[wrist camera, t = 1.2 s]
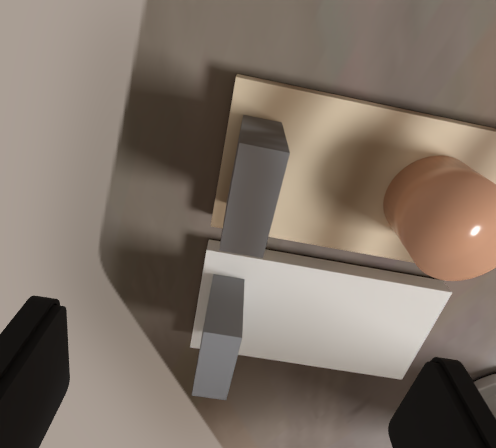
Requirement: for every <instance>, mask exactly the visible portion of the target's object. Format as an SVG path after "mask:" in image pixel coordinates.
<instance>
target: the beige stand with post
mask: <svg viewBox="0 0 496 448" xmlns="http://www.w3.org/2000/svg"><path fill="white" fill-rule="evenodd" d="M430 156H449V157H453V158H456V159H458V160H460V161H462V162H463V163H465V164H466V165H468V166H469V167H471V168H472V169H474V170H475V171H477V172H478V173H480V174H481V175H483V176H484V177H486V178H487V179H489V180H490V181H491V182H493V183H494V184H496V129H495V128H491V127H486V126H481V125H476V124H472V123H467V122H462V121H457V120H453V119H448V118H443V117H439V116H434V115H429V114H424V113H420V112H415V111H410V110H406V109H401V108H396V107H391V106H387V105H382V104H377V103H373V102H368V101H363V100H358V99H354V98H349V97H344V96H339V95H335V94H330V93H325V92H321V91H316V90H311V89H306V88H302V87H297V86H292V85H288V84H283V83H278V82H273V81H269V80H264V79H259V78H255V77H250V76H245V75H240V74H237V75H236V79H235V85H234V91H233V97H232V103H231V109H230V115H229V121H228V126H227V132H226V138H225V144H224V150H223V156H222V162H221V168H220V174H219V180H218V185H217V191H216V197H215V203H214V209H213V215H212V221H211V226H212V227H217V228H223V229H222V235H221V242H220V248H219V251H224V252H230V253H235V254H241V255H247V256H252V257H258V258H263V256H264V252H265V248H266V244H267V240H268V237H273V238H279V239H285V240H290V241H296V242H301V243H307V244H313V245H318V246H324V247H329V248H335V249H340V250H346V251H352V252H357V253H363V254H368V255H374V256H380V257H385V258H391V259H396V260H402V261H408V262H413V263H415V262H414V261H413V259H412V258H411V256H410V255H409V253H408V252H407V250H406V249H405V247H404V245H403V244H402V242H401V241H400V239H399V238H398V236H397V235H396V233H395V232H394V230H393V229H392V227H391V226H390V224H389V223H388V221H387V220H386V217H385V214H384V209H383V201H384V196H385V193H386V190H387V188H388V186H389V184H390V183H391V181H392V180H393V178H394V177H395V176H396V175H397V174H398V173H399V172H400V171H401V170H402V169H404V168H405V167H406V166H408V165H409V164H411V163H413V162H415V161H417V160H420V159H422V158H426V157H430Z"/></svg>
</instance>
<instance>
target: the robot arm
mask: <svg viewBox="0 0 496 448" xmlns="http://www.w3.org/2000/svg"><path fill="white" fill-rule="evenodd" d="M69 380H70V374H69V354H68V334H67V316H66V308H65V307H64V306H60V302H59V300H58V299H52V298H46V297H40V296H31V297H30V298H29V299H28V300H27V301H26V303H25V304H24V305H23V307H22V308H21V309H20V310H19V311H18V313H17V314H16V315H15V316H14V318H13V319H12V320H11V321H10V323H9V324H8V325H7V326H6V328H5V329H4V330H3V332H2V333H1V334H0V448H39V446H40V444H41V442H42V440H43V438H44V436H45V434H46V432H47V430H48V428H49V426H50V424H51V422H52V420H53V418H54V416H55V414H56V412H57V410H58V408H59V406H60V404H61V402H62V400H63V398H64V396H65V394H66V391H67V389H68V385H69ZM388 432H389V437H390V440H391V443H392V447H393V448H496V374H492V375H490V376H487V377H484V378H481V379H479V380H477V381H475V382H473V381H472V379H471V377H470V376H469V374H468V372H467V371H466V369H465V368H464V366H463V365H462V363H461V362H459V361H458V360H452V359H445V358H439V357H435V358H433V359H432V360H431V361H430V362H427V363H426V364H425V365H424V367H423V368H422V370H421V371H420V373H419V375H418V376H417V378H416V380H415V381H414V383H413V385H412V386H411V388H410V389H409V391H408V393H407V394H406V396H405V398H404V399H403V401H402V402H401V404H400V406H399V407H398V409H397V411H396V412H395V414H394V416H393V417H392V419H391V420H390V423H389V427H388Z"/></svg>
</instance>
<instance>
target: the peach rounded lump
mask: <svg viewBox="0 0 496 448" xmlns="http://www.w3.org/2000/svg"><path fill="white" fill-rule="evenodd" d="M383 209H384V214H385V217H386V220H387V221H388V223H389V224H390V226H391V227H392V229H393V230H394V232H395V233H396V235H397V236H398V238H399V239H400V241H401V242H402V244H403V245H404V247H405V249H406V250H407V252H408V253H409V255H410V256H411V258H412V259H413V261H414V262H415V263H416V265H417V266H418V267H419V269H420V270H421V271H423V272H424V273H425V274H427V275H429V276H431V277H433V278H436V279H440V280H446V281H460V280H466V279H471V278H474V277H477V276H480V275H483V274H485V273H487V272H489V271H491V270H492V269H494V268H495V267H496V184H494V183H493V182H491V181H490V180H489V179H487V178H486V177H484V176H483V175H481V174H480V173H478V172H477V171H475V170H474V169H472V168H471V167H469V166H468V165H466V164H465V163H463V162H462V161H460V160H458V159H456V158H453V157H449V156H430V157H426V158H422V159H420V160H417V161H415V162H413V163H411V164H409V165H408V166H406V167H405V168H404V169H402V170H401V171H400V172H399V173H398V174H397V175H396V176H395V177H394V178H393V180H392V181H391V183H390V184H389V186H388V188H387V190H386V193H385V196H384V201H383Z"/></svg>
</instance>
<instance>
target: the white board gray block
mask: <svg viewBox="0 0 496 448" xmlns="http://www.w3.org/2000/svg"><path fill="white" fill-rule="evenodd" d="M220 242H221V241H215V240H210V239H209V241H208V245H207V250H206V256H205V262H204V268H203V274H202V280H201V285H200V291H199V297H198V303H197V309H196V315H195V321H194V327H193V333H192V338H191V344H190V347H191V348H198V349H199V355H198V361H197V367H196V373H195V379H194V385H193V391H192V396H200V397H207V398H214V399H221V400H226V399H227V395H228V391H229V387H230V383H231V380H232V376H233V372H234V368H235V364H236V360H237V356H238V355H243V356H250V357H256V358H263V359H270V360H276V361H283V362H289V363H296V364H302V365H309V366H315V367H322V368H328V369H335V370H342V371H348V372H355V373H361V374H368V375H374V376H381V377H387V378H394V379H400V380H402V379H403V377H404V375H405V373H406V372H407V370H408V368H409V367H410V365H411V363H412V361H413V360H414V358H415V356H416V354H417V353H418V351H419V349H420V348H421V346H422V344H423V342H424V341H425V339H426V337H427V335H428V334H429V332H430V330H431V329H432V327H433V325H434V323H435V322H436V320H437V318H438V316H439V315H440V313H441V311H442V310H443V308H444V306H445V304H446V303H447V301H448V299H449V297H450V296H451V294H452V292H451V290H450V289H449V287H448V286H447V285H446V283H445V282H444V281H443V280H437V279H431V278H426V277H420V276H414V275H408V274H403V273H397V272H391V271H386V270H380V269H374V268H369V267H363V266H357V265H352V264H346V263H340V262H335V261H329V260H323V259H318V258H312V257H306V256H300V255H295V254H289V253H283V252H278V251H272V250H266V249H265V252H264V256H263V258H258V257H252V256H247V255H241V254H235V253H230V252H224V251H219V248H220Z"/></svg>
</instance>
